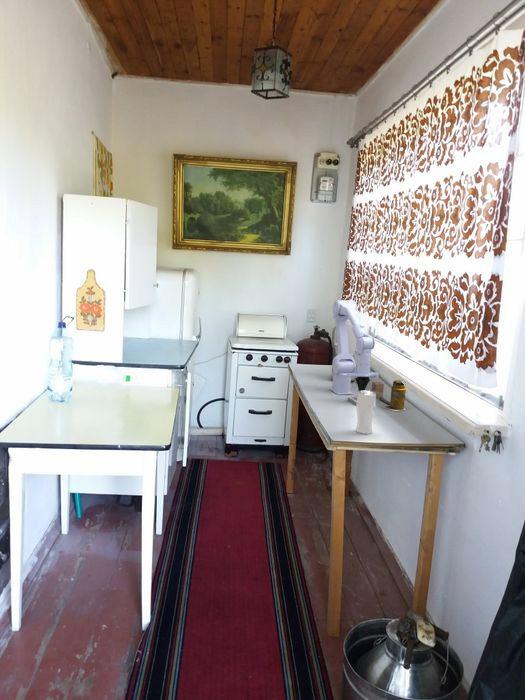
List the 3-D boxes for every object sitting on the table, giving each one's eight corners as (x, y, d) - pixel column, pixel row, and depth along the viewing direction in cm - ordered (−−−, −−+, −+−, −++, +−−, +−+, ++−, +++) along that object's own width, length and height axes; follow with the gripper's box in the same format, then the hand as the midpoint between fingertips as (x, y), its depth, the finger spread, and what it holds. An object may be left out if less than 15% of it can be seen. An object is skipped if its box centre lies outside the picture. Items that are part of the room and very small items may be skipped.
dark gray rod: (378, 399, 242) (378, 396, 242) (380, 399, 242) (381, 396, 242) (388, 404, 233) (388, 402, 233) (390, 404, 233) (391, 402, 233)
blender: (344, 376, 283) (348, 318, 277) (359, 382, 273) (364, 321, 267) (321, 379, 275) (325, 319, 269) (337, 385, 265) (341, 322, 259)
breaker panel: (347, 400, 238) (347, 395, 238) (363, 399, 240) (363, 394, 240) (357, 406, 229) (357, 401, 228) (373, 405, 231) (374, 400, 230)
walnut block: (370, 396, 246) (372, 382, 245) (378, 396, 247) (379, 381, 246) (374, 398, 242) (376, 384, 241) (382, 398, 243) (383, 383, 242)
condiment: (408, 409, 228) (410, 382, 226) (394, 411, 223) (397, 384, 221) (395, 404, 234) (398, 378, 232) (382, 407, 229) (384, 380, 227)
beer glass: (351, 431, 196) (354, 392, 193) (358, 427, 201) (362, 389, 198) (368, 435, 192) (372, 396, 189) (376, 431, 197) (379, 392, 195)
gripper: (352, 365, 225) (350, 396, 228) (382, 365, 229) (380, 395, 232) (345, 362, 232) (343, 392, 234) (375, 361, 236) (372, 391, 238)
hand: (361, 393), depth 234 cm, fingers closed
